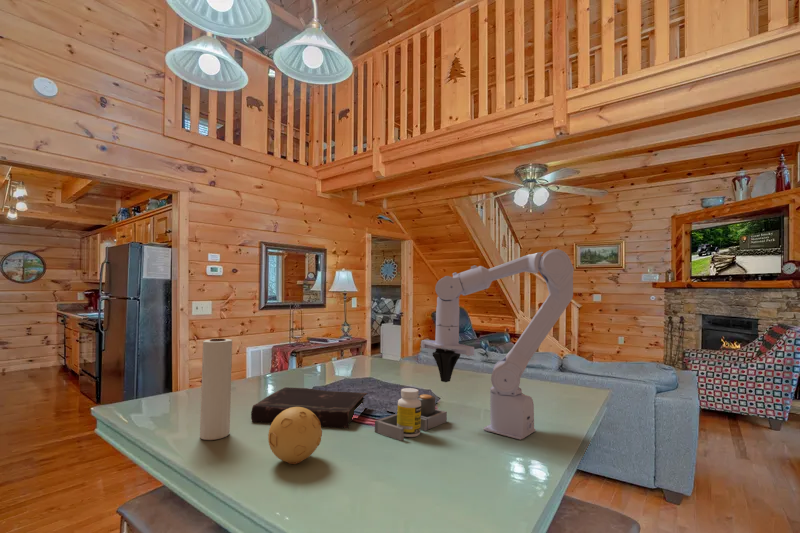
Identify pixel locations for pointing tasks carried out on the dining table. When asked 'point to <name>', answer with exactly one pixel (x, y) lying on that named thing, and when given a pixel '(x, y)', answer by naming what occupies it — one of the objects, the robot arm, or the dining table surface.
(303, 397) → the diary
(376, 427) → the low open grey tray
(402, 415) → the supplement bottle
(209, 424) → the paper towel roll
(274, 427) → the stress ball
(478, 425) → the dining table surface
